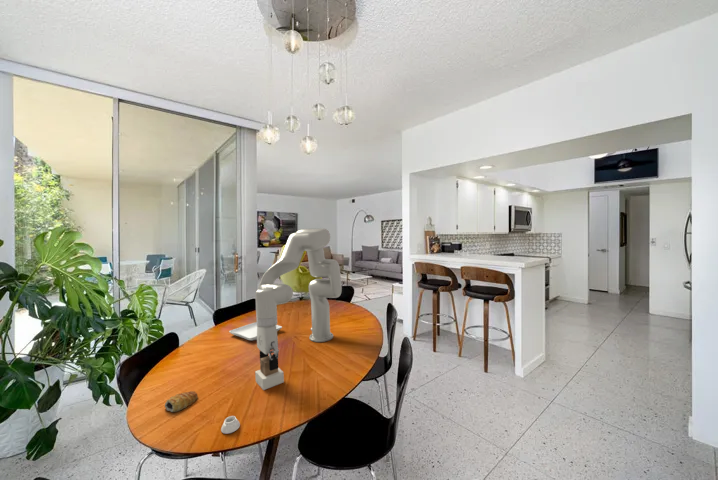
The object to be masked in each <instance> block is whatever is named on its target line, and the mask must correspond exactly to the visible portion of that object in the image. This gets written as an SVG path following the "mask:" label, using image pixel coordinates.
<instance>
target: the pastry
mask: <svg viewBox="0 0 718 480" xmlns="http://www.w3.org/2000/svg"><path fill="white" fill-rule="evenodd" d="M197 399H198V393H197V392H196V391H194V390H191V391H188V392H186V391H185V392H182V393H177V394H175V395H173V396H171V397H169V399H166V402H165V404H164V408H165V409H166V411H170V412H171V413H176V412H180V411H182V410H183V409H186V408H187V406H188V405H189V406H190V405H192V404H193V403H194V402H195V401H196V400H197ZM192 402H193V403H192ZM191 403H192V404H191ZM189 406H188V407H189Z"/></svg>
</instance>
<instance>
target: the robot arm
mask: <svg viewBox="0 0 718 480" xmlns="http://www.w3.org/2000/svg"><path fill="white" fill-rule="evenodd" d="M330 241H331V234H330V232H329V229H327V228H323V227H322V228H321V227H320V228H302V229H299V230H297V231H296V232H293V233H291V234H290V235H289V236H288V238H287V240H286V243H285V246H284V248H283V251H282V253H281V255H280V258H279V260H277V261H276V262H275V263H274V264H272V265H271V266H270V267H269V268H268V269H267V270H265V272H264V274H262V277H261V279H260V282H259V284H258V286H257V289H256V291H255V294H254V297H255V299H254V300H255V316H256V319H255V320H256V322H257V340H256V347H257V349H258V350H259V359H260V358H264V357H267V356H269V357H270V360H269V369H270V371H272V370H274V369H277V368H279V352H280V350H279V341H278V331H277V329H276V325H278V308H277V305H278V306H279V305H282V304H286V303H288V302H289V301H290V300H291V299H292V298H293V294H294V291H293V288H292V286H290V285H288V284H285V283H275V281H277V279H279V278H280V277H281V276H283V275H285V274H287V273H290V272H292V271H294V270H296V269H298V267H299V266H300V263H301V260H302V257H303V254H304V252H305V251H306V254H307V259H308V268H309V274H310V276H312V277H313V278H315V279H313V280H311V281H310V282H309V283H308V293H309V297H310V308H311V309H310V311H311V328H310V331H311V333H310V335H309V339H308V340H310V341H311V342H315V343H324V342H328V341H331V340H332V339H333V338H334V334H333V333H332V332H331V319H330V318H331V317H330V316H331V315H330V303H329V300H328V298H329V299H337V298H339V297H340V296H341V294H342V291H343V290H342V289H343V288H342V276H341V267H340V264H339V262H338V261H337V260H336V259H329V258H327V259H326V257H325V250H324V247H326V246H328V244H329V243H330Z"/></svg>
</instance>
